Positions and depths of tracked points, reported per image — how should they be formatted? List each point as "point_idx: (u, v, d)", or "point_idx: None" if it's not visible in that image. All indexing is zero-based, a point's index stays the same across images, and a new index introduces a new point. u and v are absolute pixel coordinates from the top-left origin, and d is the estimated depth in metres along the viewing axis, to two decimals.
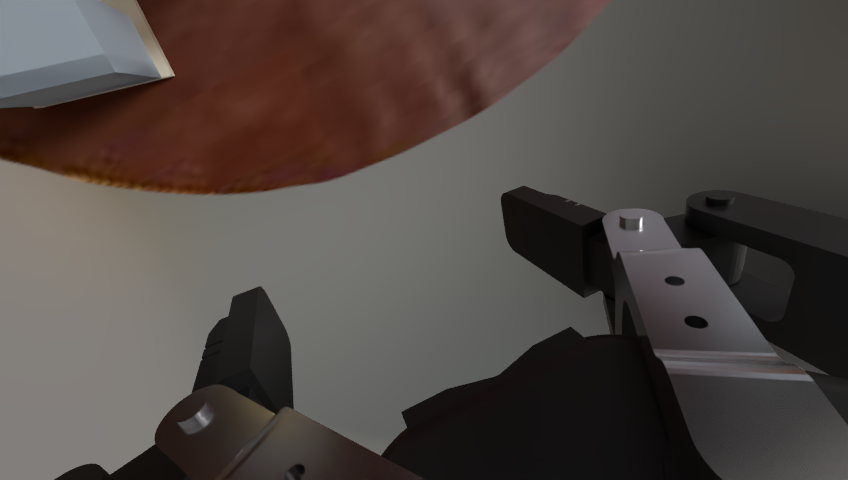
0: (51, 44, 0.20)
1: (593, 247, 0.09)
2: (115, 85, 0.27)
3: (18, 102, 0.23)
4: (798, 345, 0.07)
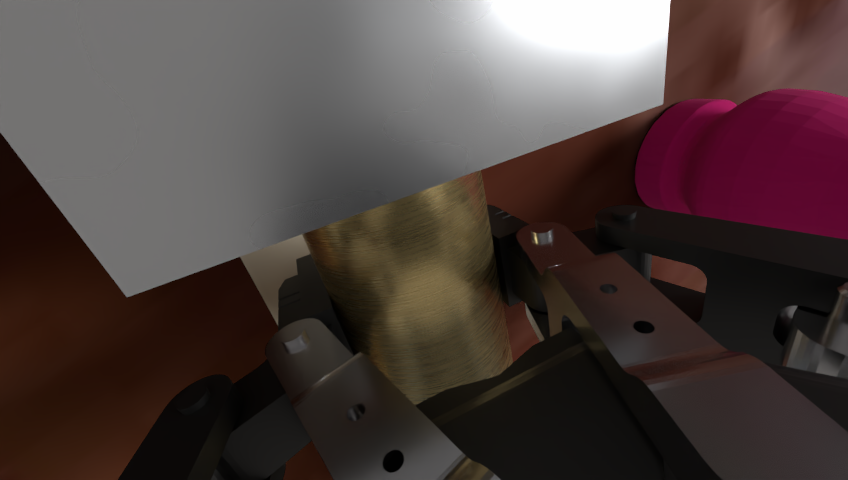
0: None
1: (511, 258, 0.09)
2: None
3: None
4: (718, 341, 0.07)
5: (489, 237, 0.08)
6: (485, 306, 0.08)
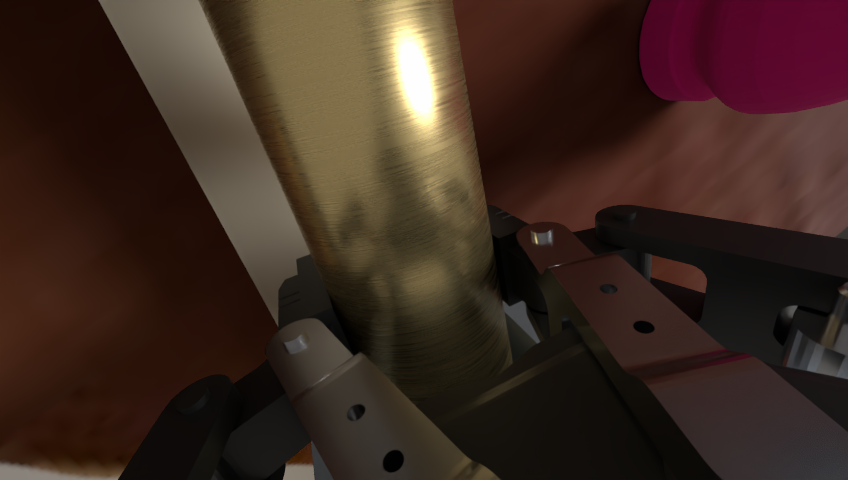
0: None
1: (511, 259, 0.09)
2: None
3: None
4: (718, 341, 0.07)
5: (489, 237, 0.08)
6: (485, 306, 0.08)
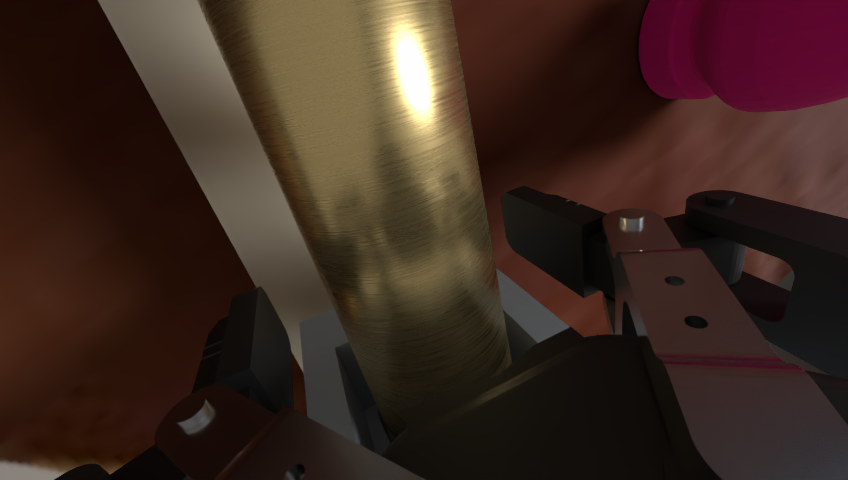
0: None
1: (593, 247, 0.09)
2: None
3: None
4: (798, 345, 0.07)
5: (487, 234, 0.08)
6: (483, 303, 0.08)
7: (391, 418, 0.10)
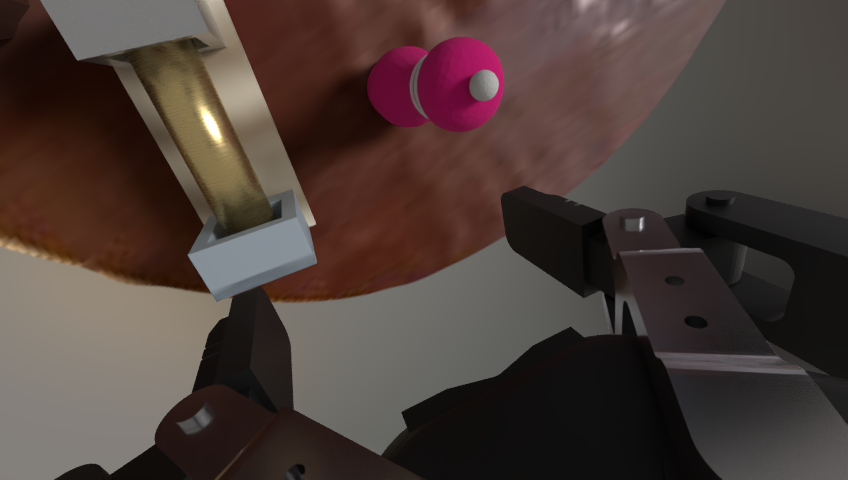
0: (283, 253, 0.30)
1: (593, 247, 0.09)
2: None
3: None
4: (798, 345, 0.07)
5: (242, 166, 0.29)
6: (240, 186, 0.29)
7: (222, 228, 0.30)
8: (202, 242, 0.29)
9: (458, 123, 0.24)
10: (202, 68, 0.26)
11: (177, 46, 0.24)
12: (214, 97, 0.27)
